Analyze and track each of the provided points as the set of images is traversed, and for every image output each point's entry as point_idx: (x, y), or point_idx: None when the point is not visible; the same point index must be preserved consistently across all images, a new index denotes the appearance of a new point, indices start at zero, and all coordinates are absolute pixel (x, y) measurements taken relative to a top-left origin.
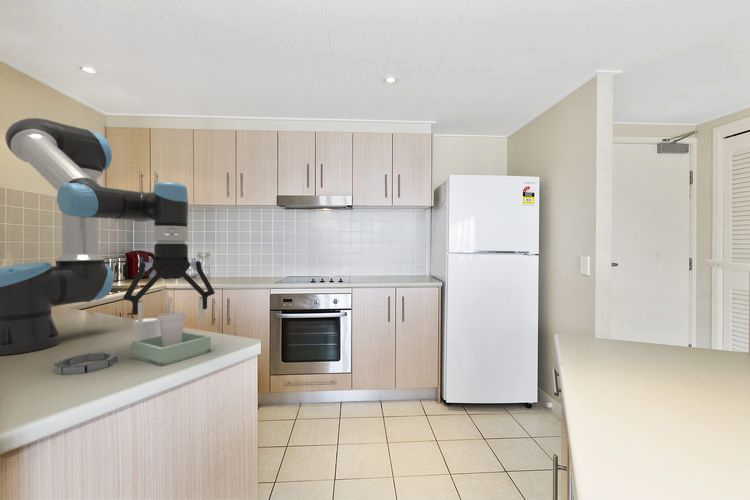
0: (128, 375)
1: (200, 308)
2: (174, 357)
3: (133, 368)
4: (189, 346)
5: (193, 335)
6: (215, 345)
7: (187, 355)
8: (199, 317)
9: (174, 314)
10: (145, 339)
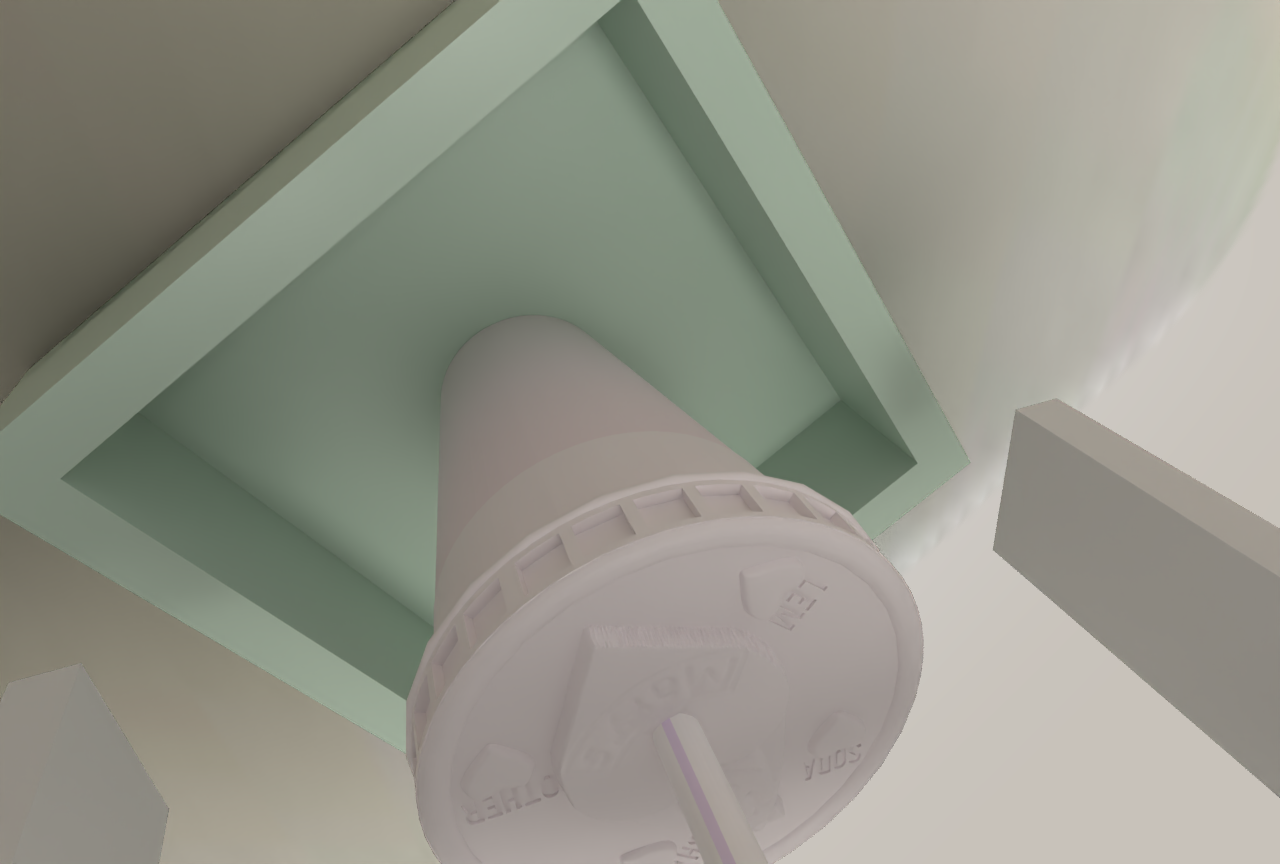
0: (291, 840)
1: (1201, 713)
2: None
3: (257, 715)
4: None
5: (810, 292)
6: (949, 153)
7: None
8: (1053, 598)
9: (748, 816)
10: (141, 392)
